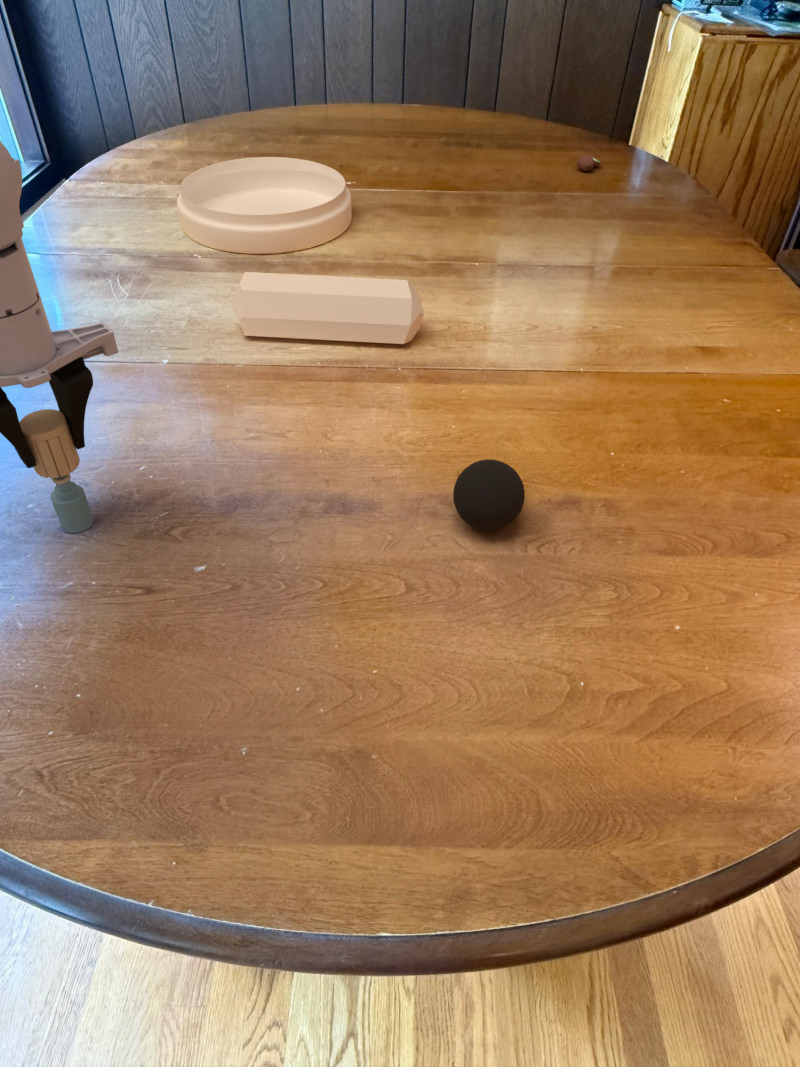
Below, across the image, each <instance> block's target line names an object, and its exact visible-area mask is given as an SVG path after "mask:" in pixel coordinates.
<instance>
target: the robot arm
mask: <svg viewBox="0 0 800 1067" xmlns="http://www.w3.org/2000/svg"><path fill="white" fill-rule="evenodd" d="M22 190H23V172H22V167H21V162H20V160H19V159H17V158H13V157H12V155H11V153H10V152H9V150H8V149H7V147H6V146H5V145H4V144H3V142H2V141H1V140H0V434H1V435H2V436H3V437H4V438H5V439H6V440H7V441H8V442H9V443H10V444H11V446H13V448H14V449H15V452H16V453H17V455H18V457H19V459H20V460H21V461H22V463H23V465H25V467H26V468H27V469H31V468H34V466H36V462H35V459H34V456H33V454H32V452H31V450H30V448H29V446H28V444H27V442H26V440H25V438H24V435H23V432H22V429H21V426H20V423H19V422H20V419H19V416H18V412H17V409H16V407H15V406H14V404H13V403H12V402H11V401H10V400H9V398H8V395H7V393H6V392H5V391H4V390H3V388H4V387H5V388H6V387H11V386H16V385H17V386H19V385H21V386H22V388H24V389H30V388H35V387H38V386H41V385H43V384H46V383H49V386H50V388H51V390H52V393H53V396H54V399H55V401H56V404H57V408H58V411H60V412H62V413H63V414H64V416H65V418H66V421H67V423H68V426H69V429H70V432H71V435H72V438H73V441H74V444H75V447H76V450H81V449H84V448H85V447H86V443H85V442H86V441H85V419H86V418H85V417H86V410H87V405H88V401H89V398H90V394H91V391H92V390H93V386H94V377H93V372H92V371H91V370H90V368H88V367H87V365H86V363H85V360H88V359H90V358H93V357H96V356H99V355H102V354H103V356H105V357H110V356H112V355H116V354H118V353H119V349H118V346H117V342H116V337H115V334H114V331H113V330H112V329H111V328H109V327H108V326H107V325H106V324H105V322H100V323H96V324H92V325H87V326H81V327H75V328H69V329H61V330H52V329H51V326H50V325H51V324H50V322H49V320H48V317H47V314H46V310H45V307H44V303H43V301H42V298H41V294H40V292H39V288H38V285H37V282H36V281H37V280H36V279H35V276H34V272H33V270H32V266H31V262H30V261H29V257H28V254H27V250H26V247H25V245H24V242H23V235H24V232H23V229H24V228H25V224H24V220H23V218H22V215H21V210H20V200H21V196H22Z"/></svg>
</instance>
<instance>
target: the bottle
mask: <svg viewBox="0 0 800 1067" xmlns="http://www.w3.org/2000/svg"><path fill="white" fill-rule="evenodd" d="M71 477H72V476H71V473H70V474H68V475H65V476H63V477H61V476H60V475H59V477H58V478H51V481H52V482H53V484H55V486H54V488H53V491H52V492H51V493H50V502H51V504H52V506H53V508H54V511H55V514H56V517H57V519H58V521H59V523H60V527H61V529H62V530H63V531H64V532H66V533H69V534H78V533H82V532H85V531H87V530H88V529H90V527H91V526H92V525H93V524H94V520H95V519H94V515H93V513H92V511H91V508H90V504H89V500H88V498H87V496H86V492H85V489H84V488H83V486H81V485H80V484H77V483H76V482H75V481H72V480H71Z"/></svg>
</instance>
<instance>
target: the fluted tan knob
mask: <svg viewBox="0 0 800 1067" xmlns="http://www.w3.org/2000/svg"><path fill="white" fill-rule="evenodd" d="M19 423H20V426H21V429H22V432H23V435H24V438H25V440H26V442H27V444H28V446H29V448H30V450H31V452H32V454H33V456H34V459H35V462H36V466H34V467H33V470H34V472H35V473H36V474H37V475H38V476H39V477H42V478H46V479H52V478H58V477H59V475H60V476H61V477H63V476H65V475H68V474H70V475H71V473H73V472H74V471H75V470H76V469H78V467H79V466H80V462H81V459H80V455H79V453H78V449H77V448H76V447H75V444H74V441H73V438H72V435H71V432H70V429H69V426H68V423H67V421H66V418H65V416H64V414H63V413H62V412H60V411H59V410H57V409H52V408H51V409H50V408H47V409H39V410H36V411H32V412H30V413H27V414H26V415H24V416H23V417H22V418H21V419H20V420H19Z"/></svg>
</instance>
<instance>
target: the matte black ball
mask: <svg viewBox="0 0 800 1067" xmlns="http://www.w3.org/2000/svg"><path fill="white" fill-rule="evenodd" d="M452 492H453V493H452V499H453V500H452V501H453V504H454V508H455V510H456V512H457V514H458V515H459V517H460V518H461V520H463V521H464V522H465V523H466V524H467V525H469V526H470V527H472V528H474V529H477V530H480V531H498V530H501V529H503V528H505V527H507V526H509V525H510V524H512V523H513V522H514V521H515V520H516V519H517V517H519V515H520V513H521V512H522V510H523V508H524V503H525V497H526V494H525V486H524V482H523V480H522V478H521V477H520V474H519V473H518V472H517V471H516V470H515V469H514V468H513V467H512V466H511V465H509V464H508V463H505V462H504V461H501V460H498V459H497V460H496V459H491V458H490V459H486V458H485V459H481V460H478V461H475V462H472V463H470V464H469V465H468V466H467V467H465V468H464V469H463V470H462V471H461V472H460V473H459V475H458V476H457V479H456V481H455V483H454V486H453V491H452Z"/></svg>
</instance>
